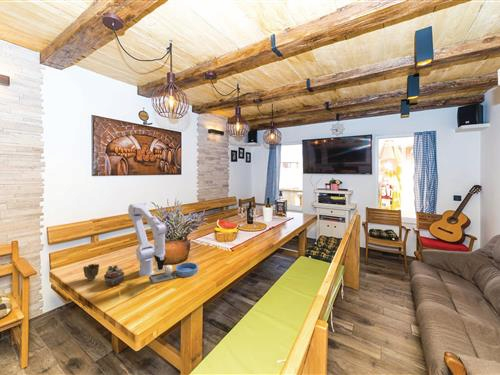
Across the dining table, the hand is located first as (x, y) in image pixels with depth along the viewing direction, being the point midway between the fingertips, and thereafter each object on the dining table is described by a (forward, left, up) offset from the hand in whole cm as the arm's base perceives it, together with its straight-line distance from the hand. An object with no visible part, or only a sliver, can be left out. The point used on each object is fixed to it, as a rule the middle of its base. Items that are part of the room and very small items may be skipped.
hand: (159, 267), depth 128 cm
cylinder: (-3, +6, -7) cm, 10 cm away
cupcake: (-9, -22, -8) cm, 25 cm away
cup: (-20, -33, -8) cm, 40 cm away
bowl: (-3, +17, -8) cm, 19 cm away
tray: (-2, +2, -8) cm, 8 cm away
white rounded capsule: (0, 0, -2) cm, 2 cm away
